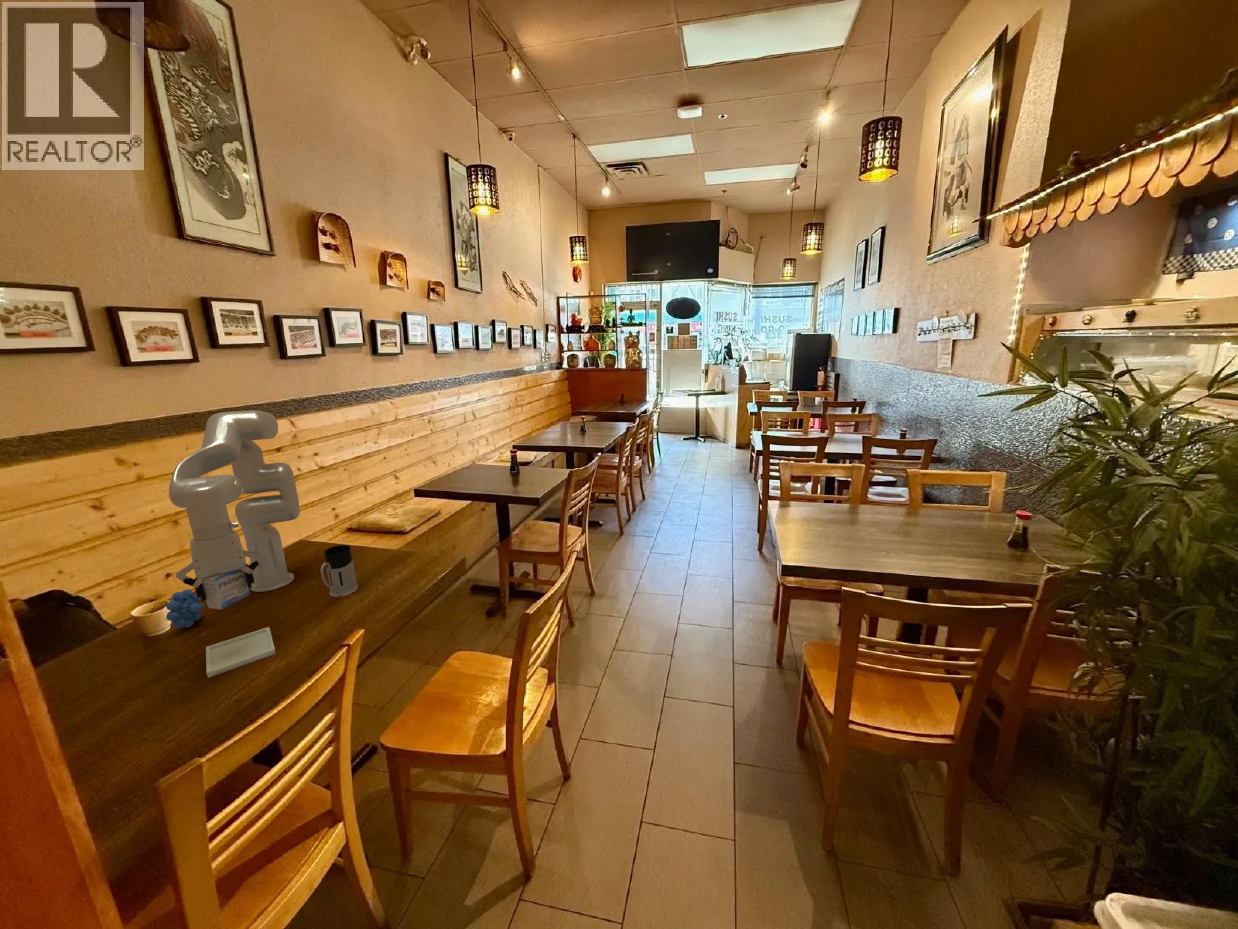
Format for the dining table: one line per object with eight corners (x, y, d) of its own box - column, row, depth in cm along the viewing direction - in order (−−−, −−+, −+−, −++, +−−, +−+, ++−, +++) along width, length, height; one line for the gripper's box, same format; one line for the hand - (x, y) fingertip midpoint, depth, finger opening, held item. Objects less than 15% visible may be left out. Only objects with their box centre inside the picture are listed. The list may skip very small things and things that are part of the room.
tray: (207, 651, 128) (205, 647, 127) (270, 631, 136) (269, 626, 136) (208, 678, 117) (206, 672, 117) (275, 654, 126) (274, 649, 126)
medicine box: (221, 610, 119) (213, 579, 117) (207, 608, 120) (199, 578, 118) (250, 594, 127) (244, 565, 124) (237, 593, 127) (230, 563, 125)
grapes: (190, 637, 134) (180, 599, 131) (164, 639, 134) (153, 601, 131) (219, 614, 146) (210, 579, 143) (195, 616, 145) (186, 581, 142)
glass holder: (363, 583, 163) (357, 543, 160) (341, 605, 150) (334, 562, 146) (338, 584, 163) (331, 544, 160) (313, 606, 150) (305, 563, 146)
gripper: (253, 519, 127) (266, 576, 131) (166, 536, 116) (183, 598, 120) (256, 526, 121) (269, 586, 125) (164, 545, 110) (182, 610, 114)
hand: (227, 592), depth 123 cm, fingers closed on medicine box, 9 cm apart
